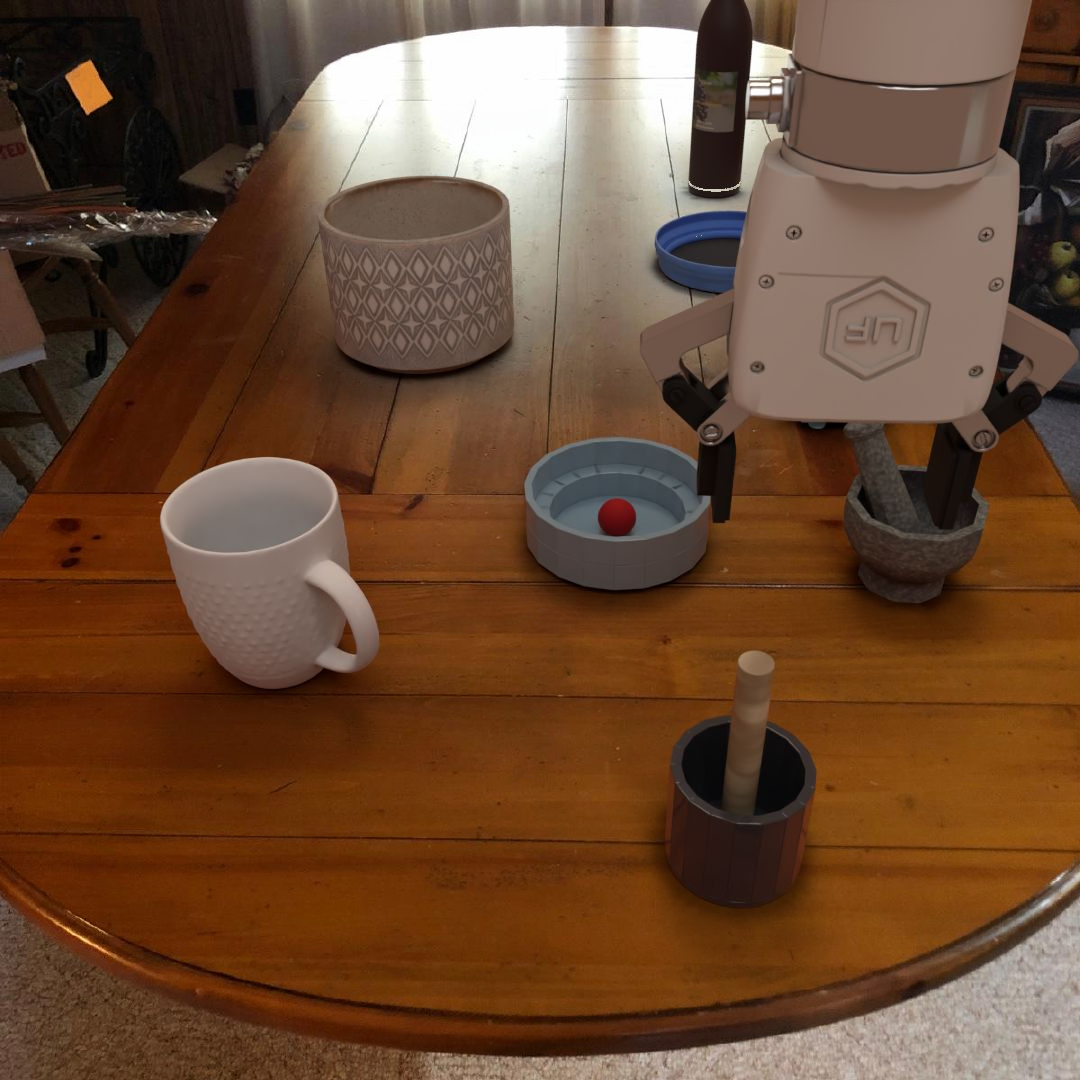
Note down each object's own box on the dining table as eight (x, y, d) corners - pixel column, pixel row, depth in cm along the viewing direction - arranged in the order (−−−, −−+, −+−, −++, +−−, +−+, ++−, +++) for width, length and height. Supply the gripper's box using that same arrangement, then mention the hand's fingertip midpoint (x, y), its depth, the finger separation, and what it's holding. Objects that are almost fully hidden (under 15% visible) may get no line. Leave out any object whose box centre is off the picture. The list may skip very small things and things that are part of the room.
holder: (804, 809, 64) (819, 726, 60) (796, 921, 58) (812, 837, 54) (675, 787, 66) (681, 704, 62) (655, 893, 60) (660, 809, 56)
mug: (437, 664, 75) (421, 508, 68) (324, 764, 68) (291, 603, 60) (285, 587, 82) (254, 438, 75) (168, 671, 75) (120, 516, 68)
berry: (638, 524, 87) (639, 493, 85) (632, 546, 85) (633, 514, 83) (601, 519, 88) (602, 488, 86) (594, 541, 85) (594, 510, 84)
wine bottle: (678, 186, 152) (691, -58, 134) (721, 178, 154) (740, -63, 137) (705, 202, 147) (722, -50, 129) (749, 193, 149) (772, -55, 131)
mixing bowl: (717, 499, 91) (721, 447, 88) (694, 607, 80) (698, 552, 77) (550, 479, 94) (549, 428, 91) (505, 581, 82) (503, 527, 80)
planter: (374, 400, 105) (355, 257, 97) (313, 327, 119) (292, 195, 110) (545, 356, 112) (542, 218, 103) (470, 291, 125) (461, 164, 117)
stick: (750, 835, 62) (776, 652, 54) (747, 860, 61) (773, 677, 53) (718, 829, 63) (739, 647, 55) (715, 854, 61) (736, 671, 53)
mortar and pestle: (992, 575, 82) (1031, 437, 75) (931, 637, 76) (966, 494, 69) (858, 517, 88) (882, 384, 81) (793, 570, 83) (813, 433, 76)
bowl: (800, 238, 136) (804, 210, 134) (815, 299, 121) (819, 269, 119) (654, 236, 137) (655, 208, 135) (652, 296, 123) (653, 266, 121)
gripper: (649, 146, 37) (632, 553, 47) (1186, 148, 35) (1050, 566, 46) (648, 87, 43) (634, 459, 53) (1108, 87, 41) (1002, 468, 52)
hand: (826, 508), depth 49 cm, fingers open, 9 cm apart
